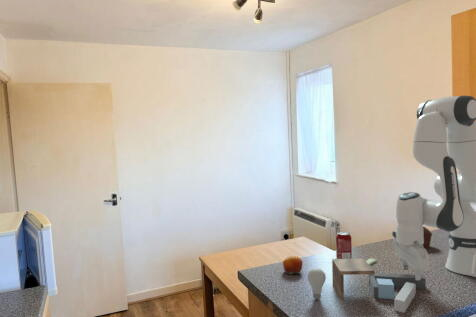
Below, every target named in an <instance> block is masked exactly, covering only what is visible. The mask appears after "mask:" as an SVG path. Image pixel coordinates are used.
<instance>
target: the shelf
mask: <svg viewBox="0 0 476 317" xmlns="http://www.w3.org/2000/svg"><path fill="white" fill-rule="evenodd" d="M331 260H332V261H331V264H332V265H331V266H332V267H331V268H332V269H331V270H332V271H331V273H332V274H331V275H332V287H333V289H334V290H335V293H336V294H337V296H338V298H339V299H340V301H345V292H344V291H345V290H344V289H345V285H344V284H345V283H344V282H345V280H344V278H345V275H346V276H347V275H350V276H351V275H369V274H375V273H376V272H375V269H373V267H372V265H369V264H368V263H367V262H366V261H367V260H365V259H364V258H351V259H338V258H332V259H331Z"/></svg>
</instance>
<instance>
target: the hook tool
mask: <svg viewBox="0 0 476 317" xmlns="http://www.w3.org/2000/svg"><path fill="white" fill-rule="evenodd" d="M376 278H377V279H391V280H392V282H393V284H394V288H399V287H403V286H404V285H405V283H406V282H409V283H414V284H416V288H420V290H421V289H422V290H426V283H427V282H426V277H425V276H424V275H423V274H421V280H415V279H414V274H406V273H405V274H404V273H402V274H401V273H400V274H399V273H384V272H383V273H381V272H375V274H368V285H369V287H370V290H371V293H372V296H373V298H375V299H379V298H378V285H377V282H376Z"/></svg>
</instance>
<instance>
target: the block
mask: <svg viewBox="0 0 476 317" xmlns="http://www.w3.org/2000/svg"><path fill="white" fill-rule="evenodd" d="M376 282H377V285H378V298H377V299H387V300H388V299H389V300H394V299H395V287H394V284H393V282H392V280H391V279H377V278H376Z"/></svg>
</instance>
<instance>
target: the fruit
mask: <svg viewBox="0 0 476 317" xmlns="http://www.w3.org/2000/svg"><path fill="white" fill-rule="evenodd" d="M282 265H283V269H284V271H285V273H286V274H289V275H290V276H292V275H293V274H297V275H298V274H299V275H301V271H302V268H303V259H302V258H301V257H298V256H295V255H294V256H293V255H291V256H288V257H286V258H285V259H283V262H282Z"/></svg>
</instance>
